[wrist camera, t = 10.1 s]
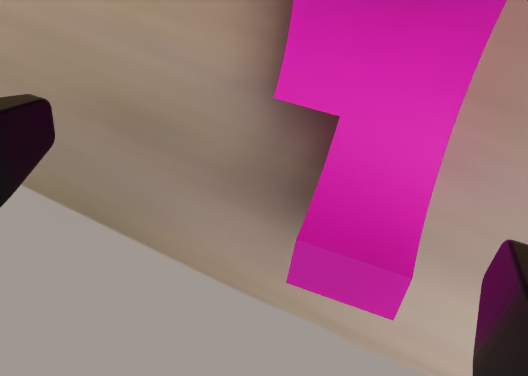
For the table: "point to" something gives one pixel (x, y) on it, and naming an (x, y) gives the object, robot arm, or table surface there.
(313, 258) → the toy block
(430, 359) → the table surface
